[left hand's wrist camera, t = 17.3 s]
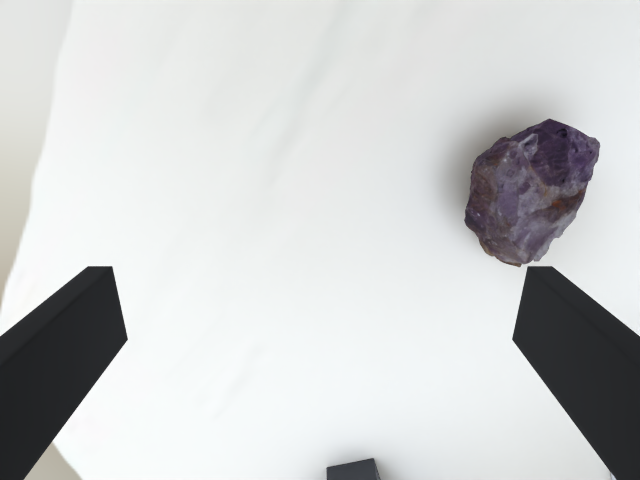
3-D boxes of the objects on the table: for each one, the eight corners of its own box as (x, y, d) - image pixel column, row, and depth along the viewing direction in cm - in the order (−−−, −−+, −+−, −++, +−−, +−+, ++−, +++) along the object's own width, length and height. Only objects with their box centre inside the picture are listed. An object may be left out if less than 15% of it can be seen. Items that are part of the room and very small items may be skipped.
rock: (565, 145, 37) (467, 108, 35) (647, 146, 28) (523, 97, 27) (513, 262, 39) (419, 232, 37) (574, 295, 31) (456, 258, 29)
